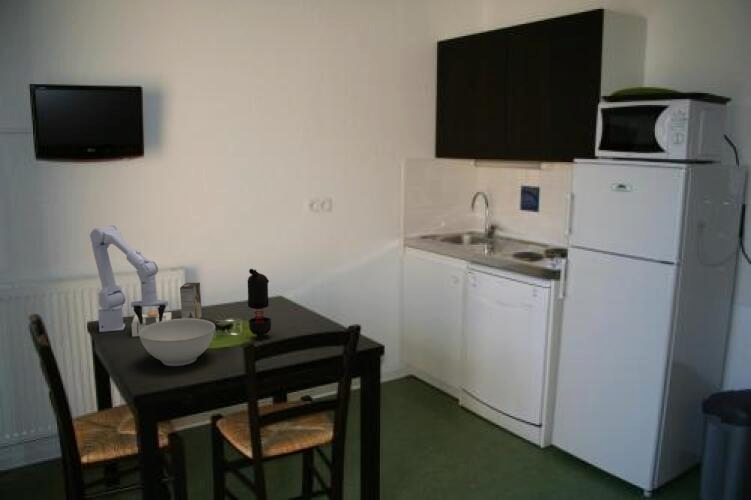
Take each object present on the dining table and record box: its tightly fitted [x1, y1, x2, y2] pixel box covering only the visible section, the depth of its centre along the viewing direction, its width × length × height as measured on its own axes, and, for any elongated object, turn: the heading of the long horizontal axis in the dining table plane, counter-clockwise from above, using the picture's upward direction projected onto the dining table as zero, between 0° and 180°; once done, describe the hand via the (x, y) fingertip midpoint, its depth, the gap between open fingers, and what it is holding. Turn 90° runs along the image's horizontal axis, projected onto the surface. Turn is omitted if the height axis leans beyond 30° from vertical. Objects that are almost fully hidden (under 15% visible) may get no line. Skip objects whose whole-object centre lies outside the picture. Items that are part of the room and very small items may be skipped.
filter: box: [247, 268, 272, 339], centre depth 255 cm, size 14×9×30 cm
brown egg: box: [146, 310, 158, 316], centre depth 271 cm, size 4×4×4 cm
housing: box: [131, 311, 172, 337], centre depth 266 cm, size 15×15×5 cm
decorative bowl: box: [138, 317, 216, 367], centre depth 230 cm, size 27×27×12 cm
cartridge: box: [138, 317, 165, 333], centre depth 263 cm, size 10×10×6 cm
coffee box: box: [179, 282, 203, 319], centre depth 280 cm, size 9×6×16 cm
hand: (151, 323), depth 260 cm, fingers open, 7 cm apart
